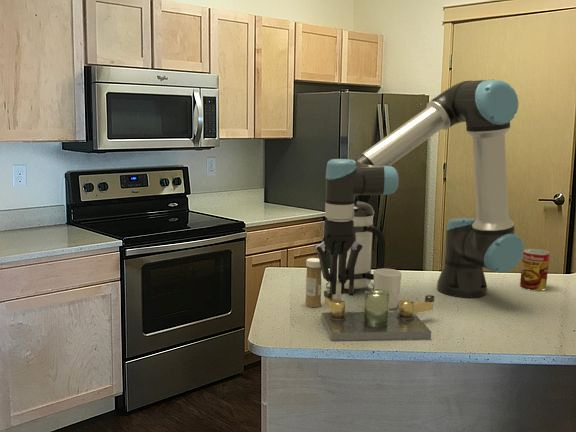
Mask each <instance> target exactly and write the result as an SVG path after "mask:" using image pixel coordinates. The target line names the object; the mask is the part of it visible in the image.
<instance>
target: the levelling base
mask: <svg viewBox="0 0 576 432" xmlns="http://www.w3.org/2000/svg"><path fill="white" fill-rule="evenodd" d="M371 289H372V288H371ZM388 303H389V293H388V292H387V291H384V290H380V289H372V290H370V289H367V290H364V303H363V304H364V306H363V307H364V309H363V312H362V311H359V312H355V311H354V312H353V311H349V312H346V311H345V318H344V319H333V318H331V312H321V321H322V324H323V327H324V329H325V330H326V333H327V335H328V337H329V339H330V341H331V342H332V341H336V342H338V341H392V340H393V341H397V340H399V341H401V339H402V340H403V339H404V340H405V339H414V340H431V339H432V330H431V329H430V328H429V327H428V326H427V325H426V324H425V323H424V322H423V320H422V319H420V318H419V316H418V315H417V313H414V314H413V316H412V318H410V319H404V318H400V317H399V311H389V309H388ZM404 340H403V341H404Z"/></svg>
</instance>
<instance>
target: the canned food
mask: <svg viewBox="0 0 576 432" xmlns="http://www.w3.org/2000/svg"><path fill="white" fill-rule="evenodd" d="M521 260H522V261H521V270H520V271H521V272H520V278H519V281H520V282H519V287H520V288H521V287H522V288H521V289H523V288H525V289H524V290H526V289H530V290H542V289H545V288H546V289H547V283H548V280H547V279H548V271H549V263H550V251H547V250H544V249H537V248H524V252H523V256H522V258H521ZM530 290H529V291H530Z"/></svg>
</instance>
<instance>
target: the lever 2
mask: <svg viewBox="0 0 576 432" xmlns="http://www.w3.org/2000/svg"><path fill="white" fill-rule="evenodd" d="M434 302H435V296H434V295H432V294H427V295H426V294H425V296H424V299H423V300H420V301H413V300H410V299H400V300H398V312H399V317H400V318H404V319H410V318H412V316H413V314H414V313H415V314H418V313H423V312H428V311H433V310H434V309H433V308H434Z"/></svg>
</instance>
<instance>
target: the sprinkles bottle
mask: <svg viewBox="0 0 576 432" xmlns="http://www.w3.org/2000/svg"><path fill="white" fill-rule="evenodd" d="M305 264H306V265H305V266H306V276H305V305H306V306H307V307H310V308H318V307H320V306H322V303H321V301H322V299H321V297H322V269H321V265H320V260H319V257H318V258H316V257H310V258H307V259H306V263H305Z"/></svg>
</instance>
